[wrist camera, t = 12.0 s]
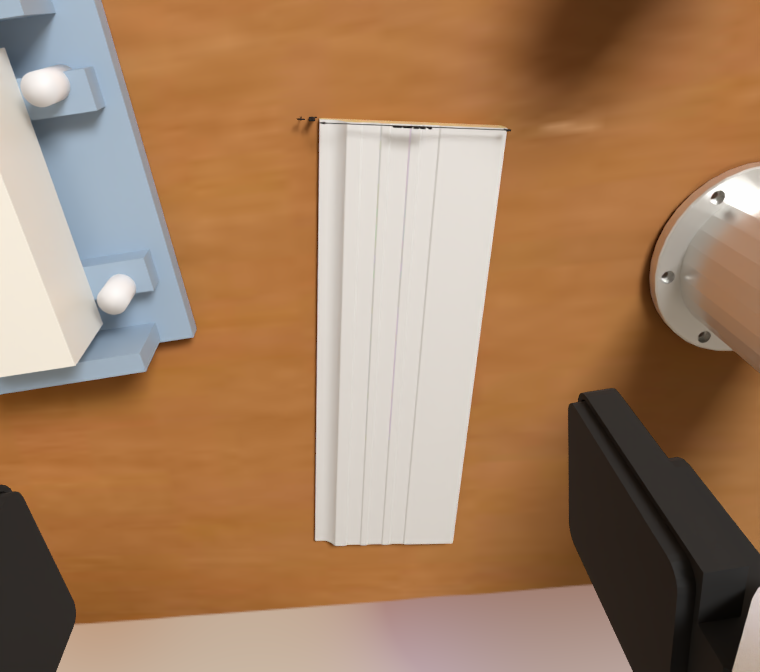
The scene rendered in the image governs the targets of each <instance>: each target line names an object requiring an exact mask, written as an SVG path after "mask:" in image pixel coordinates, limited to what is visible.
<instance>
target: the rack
mask: <svg viewBox="0 0 760 672" xmlns="http://www.w3.org/2000/svg"><path fill="white" fill-rule="evenodd" d="M4 47H5V50H6V53H7V55H8V58H9V61H10V64H11V67H12V69H13V72H14V75H15V78H16V81H17V83H18V86H19V89H20V92H21V95H22V98H23V100H24V103H25V106H26V109H27V112H28V114H29V117H30V120H31V123H32V126H33V128H34V131H35V134H36V137H37V140H38V143H39V145H40V148H41V151H42V154H43V157H44V159H45V162H46V165H47V168H48V171H49V173H50V176H51V179H52V182H53V185H54V187H55V190H56V193H57V196H58V199H59V202H60V204H61V207H62V210H63V213H64V216H65V218H66V221H67V224H68V227H69V230H70V232H71V235H72V238H73V241H74V244H75V247H76V249H77V252H78V255H79V258H80V261H81V263H82V266H83V269H84V272H85V275H86V277H87V280H88V283H89V286H90V289H91V291H92V294H93V297H94V300H95V303H96V306H97V308H98V311H99V314H100V317H101V320H102V322H103V325H102V326H101V328H100V329H99V331H98V332H97V334H96V335H95V337H94V338H93V340H92V341H91V343H90V345H89V346H88V348H87V349H86V351H85V352H84V354H83V355H82V357H81V358H80V360H79V361H78V363H77V364H76V366H71V367H65V368H58V369H51V370H45V371H38V372H32V373H25V374H19V375H12V376H6V377H0V394H6V393H13V392H19V391H25V390H32V389H38V388H44V387H51V386H57V385H64V384H70V383H76V382H83V381H89V380H95V379H102V378H108V377H115V376H121V375H127V374H134V373H140V372H146V370H147V368H148V366H149V364H150V362H151V360H152V357H153V355H154V353H155V351H156V349H157V346H158V344H159V343H160V342H167V341H173V340H179V339H186V338H192V337H194V335H195V332H196V329H197V328H196V325H195V321H194V318H193V314H192V311H191V307H190V304H189V301H188V297H187V294H186V290H185V287H184V283H183V280H182V277H181V273H180V270H179V266H178V263H177V259H176V256H175V252H174V249H173V246H172V242H171V239H170V235H169V232H168V228H167V225H166V222H165V218H164V215H163V211H162V208H161V204H160V201H159V197H158V194H157V191H156V187H155V184H154V180H153V177H152V173H151V170H150V167H149V163H148V160H147V156H146V153H145V149H144V146H143V142H142V139H141V136H140V132H139V129H138V125H137V122H136V118H135V115H134V112H133V108H132V105H131V101H130V98H129V94H128V91H127V87H126V84H125V81H124V77H123V74H122V70H121V67H120V63H119V60H118V57H117V53H116V50H115V46H114V43H113V39H112V36H111V32H110V29H109V26H108V22H107V19H106V15H105V12H104V8H103V5H102V2H101V0H0V48H4Z"/></svg>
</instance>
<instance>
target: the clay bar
mask: <svg viewBox="0 0 760 672" xmlns="http://www.w3.org/2000/svg"><path fill="white" fill-rule="evenodd" d="M102 325H103V322H102V320H101V317H100V314H99V311H98V308H97V306H96V303H95V300H94V297H93V294H92V291H91V289H90V286H89V283H88V280H87V277H86V275H85V272H84V269H83V266H82V263H81V261H80V258H79V255H78V252H77V249H76V247H75V244H74V241H73V238H72V235H71V232H70V230H69V227H68V224H67V221H66V218H65V216H64V213H63V210H62V207H61V204H60V202H59V199H58V196H57V193H56V190H55V187H54V185H53V182H52V179H51V176H50V173H49V171H48V168H47V165H46V162H45V159H44V157H43V154H42V151H41V148H40V145H39V143H38V140H37V137H36V134H35V131H34V128H33V126H32V123H31V120H30V117H29V114H28V112H27V109H26V106H25V103H24V100H23V98H22V95H21V92H20V89H19V86H18V83H17V81H16V78H15V75H14V72H13V69H12V67H11V64H10V61H9V58H8V55H7V53H6V50H5V47H4V48H0V377H6V376H12V375H19V374H25V373H32V372H38V371H45V370H51V369H58V368H65V367H71V366H76V364H77V363H78V361H79V360H80V358H81V357H82V355H83V354H84V352H85V351H86V349H87V348H88V346H89V345H90V343H91V341H92V340H93V338H94V337H95V335H96V334H97V332H98V331H99V329H100V328H101V326H102Z"/></svg>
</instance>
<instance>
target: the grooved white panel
mask: <svg viewBox="0 0 760 672" xmlns="http://www.w3.org/2000/svg"><path fill="white" fill-rule="evenodd" d="M301 118H302V117H301ZM315 118H317V117H309V121H315ZM297 120H305V119H297ZM507 131H511V130H509V129H507V128H506V127H504V126H501V125H479V124H454V123H429V122H404V121H379V120H354V119H329V118H319V207H318V302H317V397H316V492H315V541H322V540H324V541H328V542H330V543H332V544H334V545H335V546H346V545H358V544H360V545H367V544H382V545H389V544H445V543H453V536H454V529H455V521H456V513H457V506H458V498H459V491H460V483H461V475H462V468H463V460H464V453H465V445H466V437H467V430H468V422H469V415H470V407H471V399H472V392H473V384H474V377H475V369H476V362H477V354H478V346H479V339H480V331H481V324H482V316H483V308H484V301H485V293H486V286H487V278H488V270H489V263H490V255H491V248H492V240H493V232H494V225H495V217H496V210H497V202H498V195H499V187H500V179H501V172H502V164H503V157H504V149H505V141H506V134H507Z"/></svg>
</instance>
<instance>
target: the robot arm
mask: <svg viewBox="0 0 760 672" xmlns="http://www.w3.org/2000/svg"><path fill="white" fill-rule="evenodd" d="M712 194H713V195H712ZM649 281H650V290H651V296H652V299H653V302H654V305H655V308H656V310H657V312H658V313H659V315H660V317H661V318H662V320H663V321H664V323H666V324H667V325H668V326H669V327H670V329H671V330H672V331H673V332H674V333H676V334H677V335H678V336H680V337H681V338H682V339H684V340H685V341H686V342H689V343H691V344H693V345H695V346H697V347H700V348H705V349H710V350H714V351H735V352H736V353H737V354H738V355H739V356H740V357H742V358H743V359H744V360H745V361H746V362H747V363H749V364H750V365H751V366H752V367H753V368H754V369H756V370H757V371H758V372H759V373H760V162H755V163H749V164H745V165H742V166H739V167H737V168H734V169H731V170H728V171H726V172H724V173H722V174H720V175H719V176H717V177H715V178H713V179H711V180H709V181H708V182H707V183H705V184H704V185H703V186H701V187H700V188H699V189H697V190H696V191H695V192H693V193H692V194H691V195H690V196H689V197H688V198H687V199H686V200H685V201H684V202H683V203H682V204H681V205H680V206H679V207H678V208H677V210H676V211H675V213H674V214H673V215H672V217H671V218H670V220H669V221H668V222H667V224H666V225H665V227H664V229H663V231H662V233H661V235H660V237H659V239H658V241H657V243H656V246H655V250H654V253H653V256H652V260H651V267H650V276H649ZM568 443H569V526H570V532H571V536H572V540H573V543H574V545H575V547H576V550H577V552H578V554H579V556H580V558H581V560H582V562H583V565H584V567H585V569H586V571H587V573H588V575H589V578H590V580H591V582H592V584H593V586H594V588H595V591H596V593H597V595H598V597H599V599H600V601H601V603H602V606H603V608H604V610H605V612H606V614H607V616H608V618H609V621H610V623H611V625H612V627H613V629H614V632H615V634H616V636H617V638H618V640H619V642H620V644H621V647H622V649H623V651H624V653H625V655H626V657H627V660H628V662H629V664H630V666H631V668H632V670H633V672H760V554H759V553H758V551H757V550H756V549H755V548H754V546H753V545H752V544H751V542H750V541H749V540H748V539H747V537H746V536H745V535H744V534H743V532H742V531H741V530H740V528H739V527H738V526H737V525H736V523H735V522H734V521H733V520H732V518H731V517H730V516H729V514H728V513H727V512H726V511H725V509H724V508H723V507H722V506H721V504H720V503H719V502H718V500H717V499H716V498H715V497H714V495H713V494H712V493H711V492H710V490H709V489H708V488H707V487H706V485H705V484H704V483H703V481H702V480H701V479H700V478H699V476H698V475H697V474H696V473H695V471H694V470H693V469H692V467H691V466H690V465H689V464H688V463H687V462H686V461H685V460H684V459H682V458H679V457H674V458H668V457H667V456H666V455H665V453H664V452H663V451H662V449H661V448H660V447H659V445H658V444H657V443H656V441H655V440H654V439H653V437H652V436H651V435H650V433H649V432H648V431H647V429H646V428H645V427H644V425H643V424H642V423H641V422H640V420H639V419H638V418H637V416H636V415H635V414H634V412H633V411H632V410H631V408H630V407H629V406H628V404H627V403H626V402H625V400H624V399H623V398H622V396H621V395H620V394H619V392H618V391H617V390H616V389H614V388H610V389H604V390H597V391H591V392H585V393H581V394H580V395H579V398H578V402H576V403H571V404H569V408H568ZM75 618H76V609H75V604H74V601H73V599H72V597H71V595H70V593H69V590H68V588H67V586H66V584H65V582H64V580H63V578H62V576H61V574H60V572H59V570H58V568H57V566H56V564H55V562H54V560H53V558H52V556H51V553H50V551H49V549H48V547H47V545H46V543H45V541H44V539H43V537H42V535H41V533H40V531H39V529H38V527H37V525H36V523H35V521H34V519H33V516H32V514H31V512H30V510H29V508H28V506H27V504H26V502H25V500H24V498H23V496H22V495H21V494H20V493H19V492H15V491H14V492H12V490H11V489H10V488H9V487H8V486H6V485H0V672H56V670H57V668H58V665H59V663H60V660H61V657H62V655H63V652H64V650H65V647H66V645H67V642H68V639H69V636H70V634H71V632H72V629H73V627H74V623H75Z"/></svg>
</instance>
